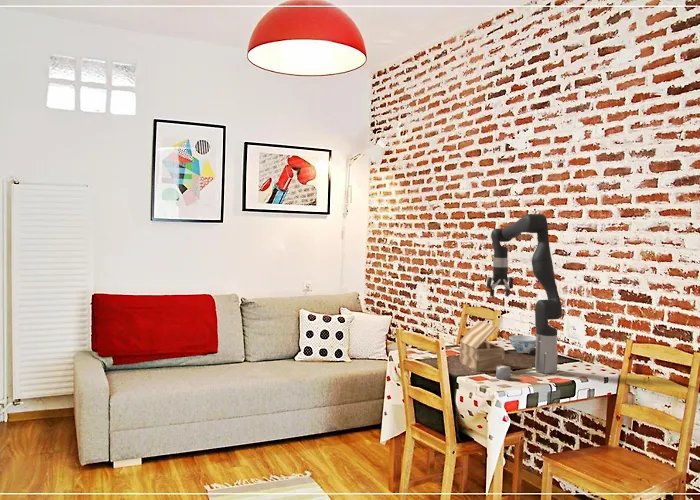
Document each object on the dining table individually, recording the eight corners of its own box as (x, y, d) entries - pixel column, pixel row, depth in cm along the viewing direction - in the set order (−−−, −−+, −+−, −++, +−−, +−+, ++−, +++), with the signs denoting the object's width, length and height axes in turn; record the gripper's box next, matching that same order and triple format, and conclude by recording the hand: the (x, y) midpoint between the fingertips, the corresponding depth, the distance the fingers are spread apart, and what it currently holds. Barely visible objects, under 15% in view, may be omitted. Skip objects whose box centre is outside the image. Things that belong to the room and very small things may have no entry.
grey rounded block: (512, 379, 264) (513, 368, 263) (500, 380, 262) (500, 368, 262) (505, 376, 269) (506, 364, 269) (493, 376, 268) (494, 365, 268)
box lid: (497, 327, 279) (496, 326, 279) (476, 349, 277) (476, 348, 277) (479, 321, 297) (478, 320, 297) (460, 341, 295) (459, 341, 295)
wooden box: (503, 369, 281) (504, 348, 281) (476, 371, 278) (476, 349, 277) (485, 361, 299) (486, 341, 298) (459, 362, 295) (460, 342, 295)
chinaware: (521, 356, 312) (521, 341, 311) (502, 350, 325) (503, 336, 325) (544, 354, 318) (544, 339, 317) (525, 348, 331) (525, 334, 331)
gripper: (491, 266, 316) (490, 297, 317) (516, 266, 320) (515, 297, 320) (484, 265, 323) (484, 295, 324) (509, 265, 327) (508, 295, 328)
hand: (499, 296), depth 322 cm, fingers open, 8 cm apart
